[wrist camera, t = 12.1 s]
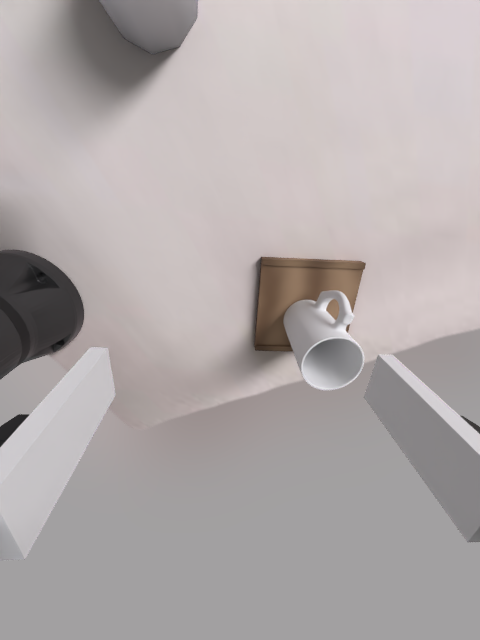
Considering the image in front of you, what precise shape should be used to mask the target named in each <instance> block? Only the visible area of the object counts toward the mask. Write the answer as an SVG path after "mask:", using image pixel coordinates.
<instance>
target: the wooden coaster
mask: <svg viewBox="0 0 480 640" xmlns="http://www.w3.org/2000/svg"><path fill="white" fill-rule="evenodd" d="M365 265H366V263H364V262H361V261H344V260H321V259H298V258H275V257H261V268H260V281H259V293H258V306H257V318H256V330H255V343H254V347H255V350H262V351H293V349H292V347H291V344H290V341H289V339H288V336H287V333H286V330H285V327H284V323H283V319H284V315H285V312H286V311H287V309H288V308H289V307H290V306H291V305H292V304H294V303H295V302H297V301H300V300H313V301H315V302H316V301H317V299H318V297H319V295H320V293H321V292H323V291H331V290H337V291H340V292H342V293H344V294H345V296H346V297H347V299H348V301H349V304H350V307H351V310H352V313H353V309H354V305H355V301H356V297H357V293H358V289H359V285H360V281H361V276H362V272H363V269H365ZM326 311H327V312H328V313H329V314H330V315H331V316H332V317H333V318H334V319H335V320H337V318H338V315H339V304H338V301H337V300H336V299H332V300H331V301H330V302H329V303H328V305H327V308H326ZM349 326H350V324H349V325H347V327H346V332H347V333H348V330H349Z"/></svg>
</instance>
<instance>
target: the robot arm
mask: <svg viewBox="0 0 480 640" xmlns="http://www.w3.org/2000/svg"><path fill="white" fill-rule="evenodd" d="M83 320H84V309H83V304H82V300H81V297H80V295H79V293H78V291H77V289H76V287H75V286H74V284H73V283H72V282H71V280H70V279H69V278H68V277H67V276H66V275H65V274H64V273H63V272H62V271H61V270H60V269H59V268H58V267H56V266H55V265H54V264H52V263H51V262H49V261H47V260H46V259H44V258H42V257H40V256H37V255H35V254H32V253H29V252H25V251H19V250H2V251H0V379H2V378H3V377H4V376H5V375H7V374H8V373H9V372H10V371H12V370H13V369H14V368H16V367H17V366H18V365H20V364H21V363H23V362H26V361H29V360H32V359H36V358H39V357H42V356H45V355H48V354H51V353H54V352H56V351H58V350H60V349H61V348H63V347H64V346H66V345H67V344H68V343H69V342H70V341H72V340H73V339H74V338H75V337H76V336H77V334H78V333H79V331H80V329H81V327H82V324H83ZM115 395H116V393H115V387H114V381H113V375H112V370H111V364H110V358H109V352H108V348H100V347H90V348H89V350H88V351H87V352H86V353H85V354H84V355H83V356H82V357H81V358H80V360H79V361H78V362H77V363H76V364H75V365H74V366H73V367H72V368H71V369H70V371H69V372H68V373H67V374H66V375H65V376H64V377H63V378H62V379H61V381H60V382H59V383H58V384H57V385H56V386H55V387H54V388H53V390H52V391H51V392H50V393H49V394H48V395H47V396H46V397H45V398H44V399H43V401H42V402H41V403H40V404H39V405H38V406H37V407H36V408H35V409H34V411H33V412H32V413H31V414H30V415H17V416H16V417H14V418H13V419H11V420H9V421H8V422H7V423H5V424H3V425H2V426H1V427H0V560H20V559H25V558H26V557H27V555H28V553H29V551H30V549H31V548H32V546H33V544H34V542H35V540H36V538H37V537H38V535H39V533H40V531H41V529H42V528H43V526H44V524H45V522H46V520H47V519H48V517H49V515H50V513H51V511H52V509H53V508H54V506H55V504H56V502H57V500H58V499H59V497H60V495H61V493H62V491H63V490H64V488H65V486H66V484H67V482H68V480H69V479H70V477H71V475H72V473H73V471H74V470H75V468H76V466H77V464H78V462H79V460H80V458H81V457H82V455H83V453H84V451H85V450H86V448H87V446H88V444H89V442H90V441H91V439H92V437H93V435H94V433H95V431H96V430H97V428H98V426H99V424H100V422H101V421H102V419H103V417H104V415H105V413H106V411H107V410H108V408H109V406H110V404H111V402H112V401H113V399H114V397H115ZM364 398H365V400H366V401H367V403H368V404H369V405H370V406H371V408H372V409H373V411H374V412H375V413H376V415H377V417H378V418H379V419H380V421H381V422H382V424H383V425H384V426H385V428H386V429H387V431H388V432H389V433H390V435H391V436H392V438H393V439H394V440H395V442H396V443H397V444H398V446H399V447H400V449H401V450H402V451H403V453H404V454H405V455H406V457H407V458H408V460H409V461H410V463H411V464H412V465H413V467H414V468H415V469H416V471H417V472H418V474H419V475H420V477H421V478H422V479H423V481H424V482H425V483H426V485H427V486H428V488H429V489H430V491H431V492H432V493H433V495H434V496H435V498H436V499H437V500H438V502H439V503H440V504H441V506H442V507H443V509H444V510H445V511H446V513H447V514H448V516H449V517H450V518H451V520H452V521H453V523H454V524H455V525H456V527H457V528H458V530H459V531H460V532H461V534H462V535H463V536H464V538H465V539H466V541H467V542H480V427H479V426H478V425H476V424H474V423H473V422H471V421H469V420H468V419H466V418H465V417H463V416H459V415H458V414H457V413H456V412H455V411H454V410H453V409H452V408H450V407H449V406H448V405H447V404H446V403H445V402H444V401H443V400H442V399H441V398H440V397H438V396H437V395H436V394H435V393H434V392H433V391H432V390H431V389H430V388H428V387H427V386H426V385H425V384H424V383H423V382H422V381H421V380H420V379H419V378H418V377H416V376H415V375H414V374H413V373H412V372H411V371H410V370H409V369H408V368H407V367H405V366H404V365H403V364H402V363H401V362H400V361H399V360H398V359H396V358H395V357H394V356H393V355H378V357H377V360H376V363H375V366H374V369H373V372H372V375H371V378H370V381H369V383H368V386H367V389H366V392H365V396H364Z"/></svg>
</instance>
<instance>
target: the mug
mask: <svg viewBox="0 0 480 640" xmlns="http://www.w3.org/2000/svg"><path fill="white" fill-rule="evenodd" d="M332 299H336V300H337V301H338V304H339V315H338V318H337V320H335V319H334V318H333V317H332V316H331V315H330V314H329V313H328V312H327V311H326V308H327V305H328V303H329V302H330V301H331V300H332ZM353 318H354V314H353V313H352V310H351V307H350V304H349V301H348V299H347V297H346V296H345V294H344V293H342V292H340V291H337V290H331V291H323V292H321V293H320V295H319V297H318V299H317V301H316V302H315V301H313V300H300V301H297V302H295V303H294V304H292V305H291V306H290V307H289V308H288V309H287V311H286V312H285V315H284V319H283V323H284V327H285V330H286V333H287V336H288V339H289V341H290V344H291V347H292V349H293V352H294V355H295V358H296V360H297V363H298V366H299V368H300V371H301V373H302V376H303V378H304V380H305V381H306V382H307V383H308V384H309V385H310V386H312V387H314V388H317V389H319V390H334V389H339V388H341V387H344V386H346V385H348V384H349V383H351V382H352V381H353V380H354V379H355V378H356V377H357V376H358V375H359V373H360V372H361V370H362V368H363V365H364V353H363V350H362V348H361V347H360V345H359V344H358V343H357V342H356V341H355V340H354V339H353V338H352V337H351V336H350V335H349V334H348V333H347V332H346V327H347V325H349V324H350V323H351V321H352V320H353Z"/></svg>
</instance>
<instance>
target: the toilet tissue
mask: <svg viewBox="0 0 480 640" xmlns="http://www.w3.org/2000/svg"><path fill="white" fill-rule="evenodd" d="M99 1H100V2H101V4H102V5H103V7H104V8H105V10H106V12H107V13H108V15H109V16H110V18H111V19H112V21H113V22H114V24H115V25H116V27H117V28H118V30H119V31H120V33H121V34H122V36H123V37H124V39H126V40H128V41H129V42H131V43H133V44H135V45H137V46H138V47H140V48H142V49H144V50H145V51H147V52H149V53H151V54H156V53H159V52H163V51H167V50H170V49H174V48H177V47H180V46H181V44H182V42H183V41H184V39H185V37H186V36H187V34H188V32H189V31H190V29H191V27H192V26H193V24H194V22H195V21H196V19H197V13H198V0H99Z"/></svg>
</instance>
